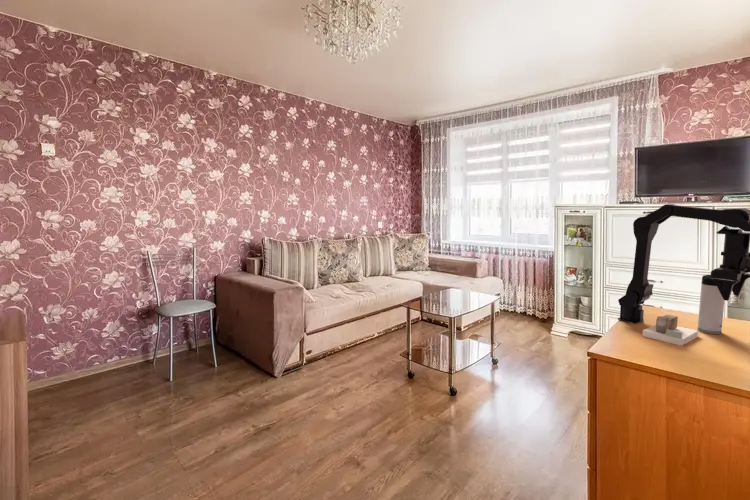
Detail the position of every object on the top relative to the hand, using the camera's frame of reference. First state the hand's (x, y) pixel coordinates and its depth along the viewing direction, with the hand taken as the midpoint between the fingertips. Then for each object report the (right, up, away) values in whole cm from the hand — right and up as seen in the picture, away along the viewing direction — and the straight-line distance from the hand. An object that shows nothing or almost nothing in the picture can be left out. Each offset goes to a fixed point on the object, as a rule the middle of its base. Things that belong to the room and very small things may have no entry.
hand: (731, 297), depth 121 cm
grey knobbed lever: (-14, -12, +8) cm, 20 cm away
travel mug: (+4, -13, +12) cm, 18 cm away
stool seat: (-13, -14, +8) cm, 21 cm away
